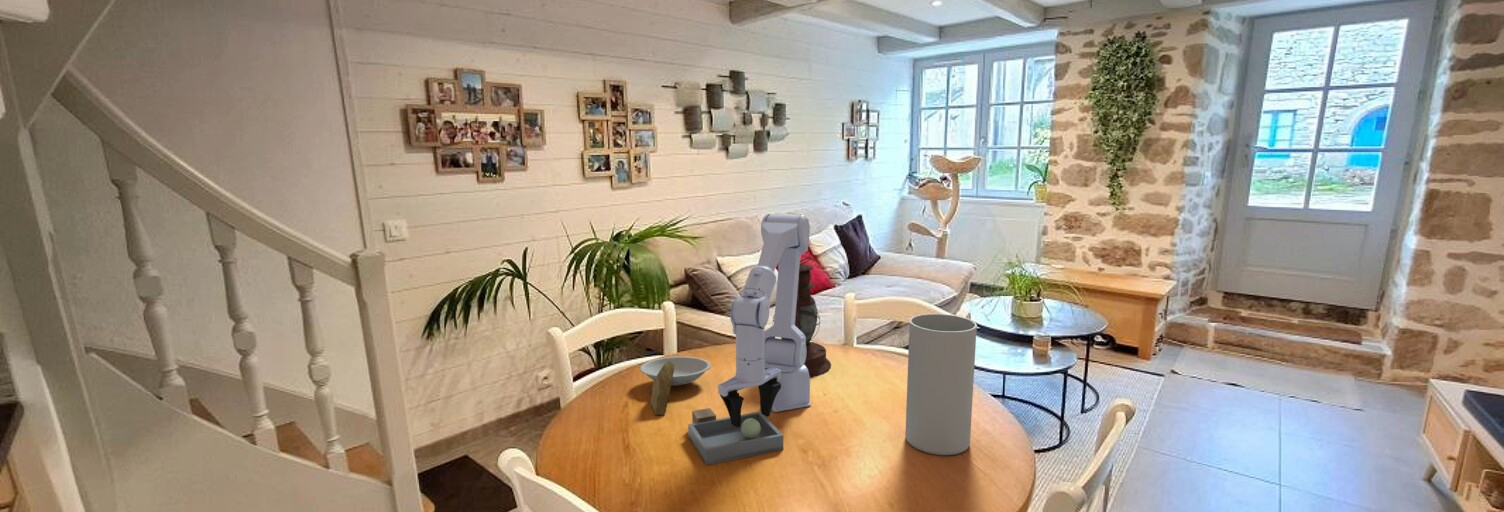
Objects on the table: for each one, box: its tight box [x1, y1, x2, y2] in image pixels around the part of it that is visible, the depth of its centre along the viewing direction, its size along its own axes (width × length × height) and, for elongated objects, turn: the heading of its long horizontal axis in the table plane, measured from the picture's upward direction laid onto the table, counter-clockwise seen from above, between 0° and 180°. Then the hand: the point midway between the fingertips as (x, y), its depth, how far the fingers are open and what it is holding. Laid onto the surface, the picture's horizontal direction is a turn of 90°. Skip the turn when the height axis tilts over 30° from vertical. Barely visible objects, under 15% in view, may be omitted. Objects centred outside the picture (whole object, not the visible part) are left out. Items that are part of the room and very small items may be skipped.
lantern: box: [765, 256, 832, 378], centre depth 166 cm, size 19×19×30 cm
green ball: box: [741, 418, 761, 439], centre depth 126 cm, size 4×4×4 cm
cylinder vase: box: [904, 313, 978, 456], centre depth 122 cm, size 12×12×25 cm
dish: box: [639, 356, 712, 387], centre depth 155 cm, size 18×14×5 cm
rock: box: [649, 362, 675, 416], centre depth 142 cm, size 11×9×10 cm
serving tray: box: [687, 411, 784, 466], centre depth 124 cm, size 16×12×3 cm
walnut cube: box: [691, 407, 717, 424], centre depth 130 cm, size 4×4×4 cm
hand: (750, 420), depth 125 cm, fingers open, 7 cm apart
